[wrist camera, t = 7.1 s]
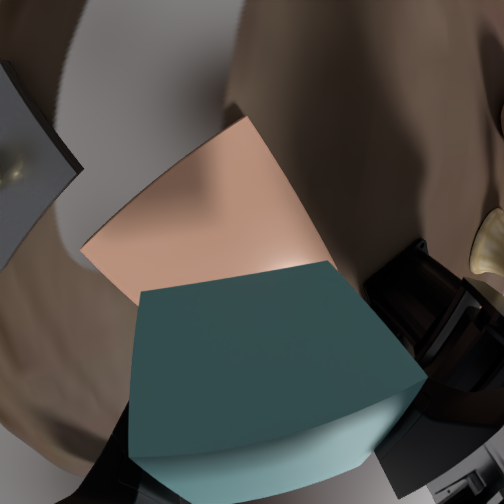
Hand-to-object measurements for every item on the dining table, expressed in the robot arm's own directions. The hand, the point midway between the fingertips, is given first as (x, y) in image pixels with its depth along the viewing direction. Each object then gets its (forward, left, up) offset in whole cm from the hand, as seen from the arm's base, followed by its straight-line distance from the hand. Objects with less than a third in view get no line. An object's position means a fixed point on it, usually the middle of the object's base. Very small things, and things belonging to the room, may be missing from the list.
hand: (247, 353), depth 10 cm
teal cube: (0, 0, -1) cm, 0 cm away
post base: (+7, -13, -8) cm, 17 cm away
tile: (0, 0, -8) cm, 8 cm away
